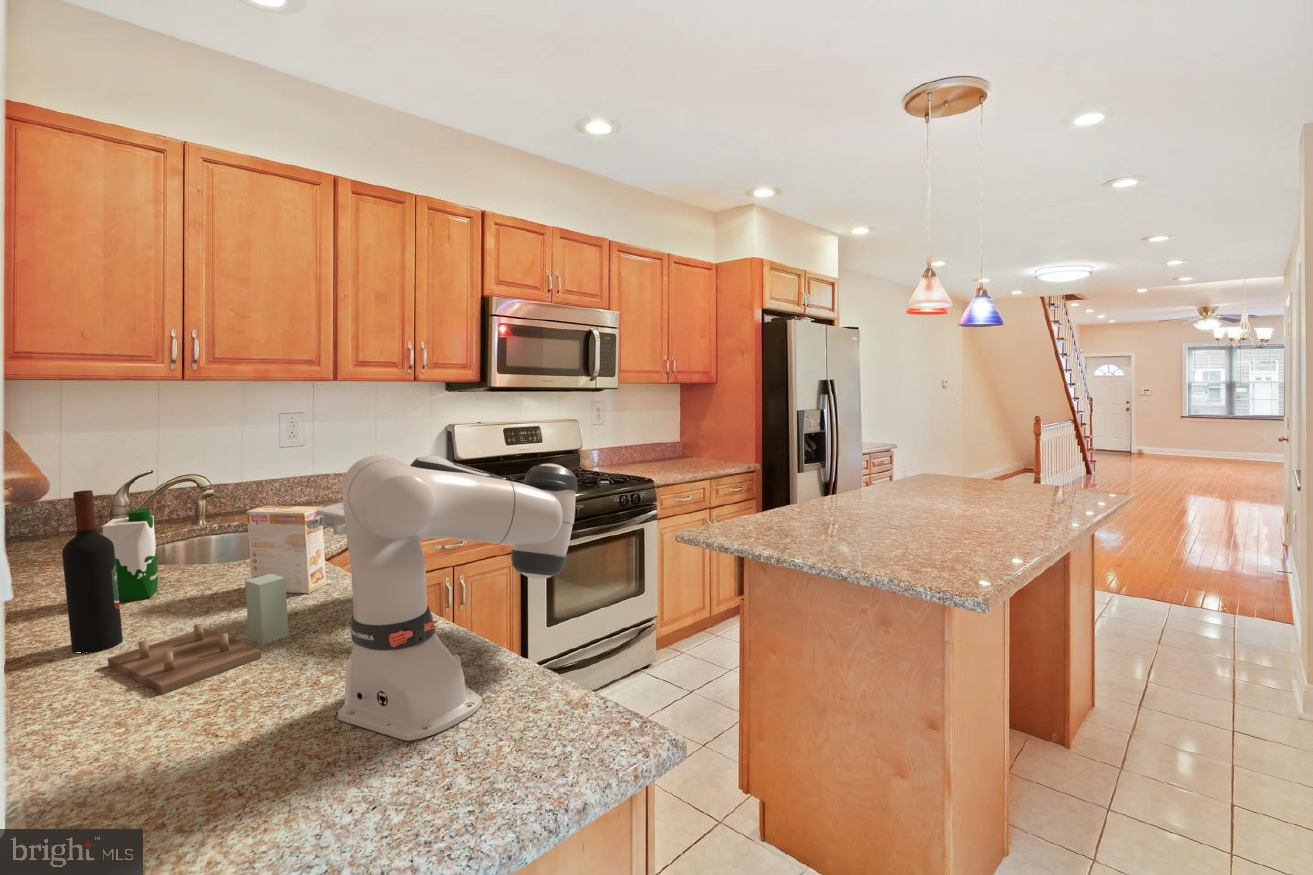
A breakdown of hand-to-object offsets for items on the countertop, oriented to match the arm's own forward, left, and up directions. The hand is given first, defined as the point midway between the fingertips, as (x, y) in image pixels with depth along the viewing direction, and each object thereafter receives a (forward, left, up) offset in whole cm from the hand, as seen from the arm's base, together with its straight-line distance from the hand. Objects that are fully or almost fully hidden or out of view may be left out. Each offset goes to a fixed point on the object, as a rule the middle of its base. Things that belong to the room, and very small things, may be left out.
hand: (321, 527), depth 142 cm
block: (-1, +12, -20) cm, 23 cm away
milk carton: (+49, +19, -20) cm, 56 cm away
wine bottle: (+22, +33, -20) cm, 44 cm away
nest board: (0, +26, -20) cm, 33 cm away
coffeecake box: (+26, -5, -20) cm, 33 cm away
